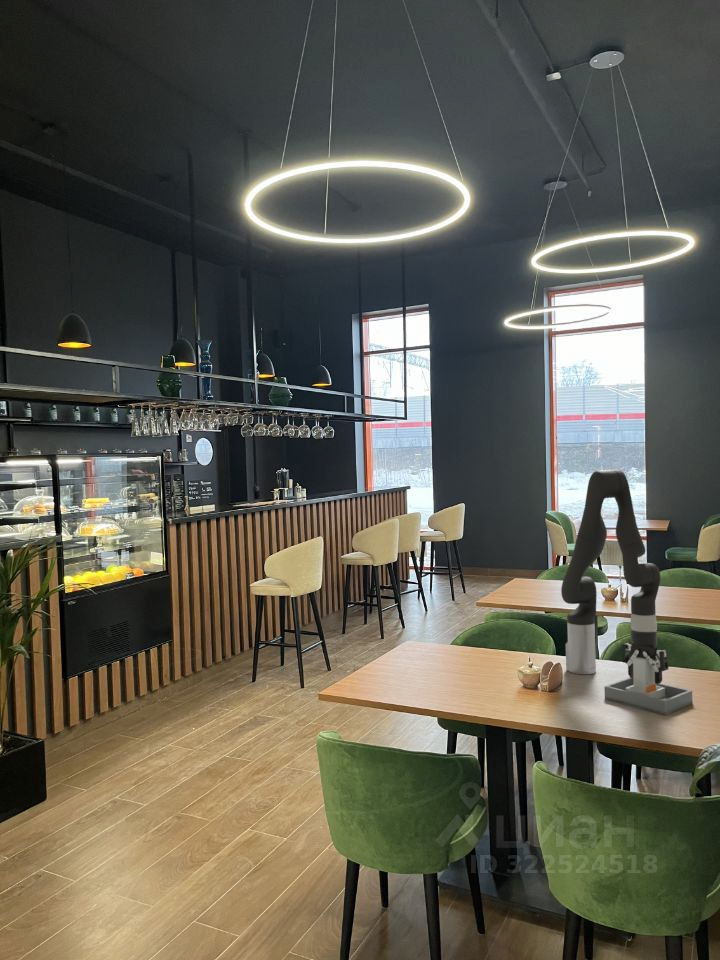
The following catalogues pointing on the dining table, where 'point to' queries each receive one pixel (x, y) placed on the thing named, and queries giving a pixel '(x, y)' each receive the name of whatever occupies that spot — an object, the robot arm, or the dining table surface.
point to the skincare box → (643, 675)
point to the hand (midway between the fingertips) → (645, 680)
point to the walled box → (649, 697)
